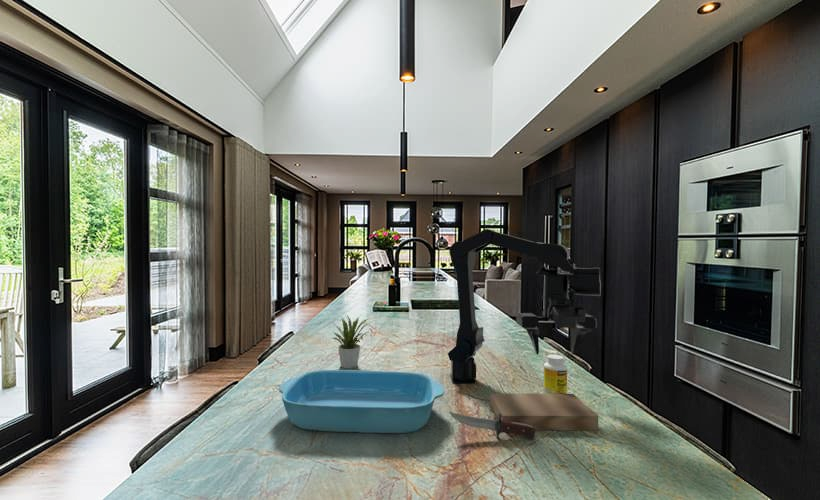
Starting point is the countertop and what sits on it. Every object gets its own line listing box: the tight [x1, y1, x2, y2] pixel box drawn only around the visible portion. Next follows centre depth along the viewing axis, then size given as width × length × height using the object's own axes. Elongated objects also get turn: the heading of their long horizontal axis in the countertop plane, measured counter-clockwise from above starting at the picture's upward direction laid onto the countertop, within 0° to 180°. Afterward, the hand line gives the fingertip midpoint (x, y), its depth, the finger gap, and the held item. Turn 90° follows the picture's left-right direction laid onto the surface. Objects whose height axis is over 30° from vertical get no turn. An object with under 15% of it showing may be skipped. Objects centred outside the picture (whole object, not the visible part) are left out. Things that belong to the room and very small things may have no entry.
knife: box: [448, 411, 536, 440], centre depth 76 cm, size 17×1×5 cm, turn 87°
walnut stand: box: [489, 392, 599, 431], centre depth 85 cm, size 20×12×3 cm, turn 90°
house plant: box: [328, 314, 373, 369], centre depth 121 cm, size 14×14×16 cm
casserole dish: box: [278, 369, 445, 434], centre depth 86 cm, size 37×22×7 cm, turn 89°
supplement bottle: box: [543, 354, 568, 394], centre depth 97 cm, size 6×6×10 cm
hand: (555, 354), depth 97 cm, fingers open, 9 cm apart
